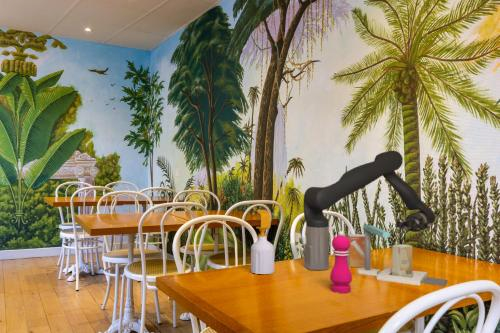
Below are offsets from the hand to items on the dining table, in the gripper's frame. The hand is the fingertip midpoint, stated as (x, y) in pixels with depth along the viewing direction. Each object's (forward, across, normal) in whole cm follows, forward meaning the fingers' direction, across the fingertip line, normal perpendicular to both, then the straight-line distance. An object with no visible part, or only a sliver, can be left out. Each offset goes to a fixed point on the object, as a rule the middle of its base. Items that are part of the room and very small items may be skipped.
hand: (407, 226), depth 168 cm
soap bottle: (+30, -49, +18) cm, 60 cm away
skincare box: (+10, 0, +18) cm, 21 cm away
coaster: (+10, +12, +18) cm, 24 cm away
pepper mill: (+38, -14, +18) cm, 45 cm away
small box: (0, -20, +18) cm, 27 cm away
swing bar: (+17, -8, +1) cm, 19 cm away
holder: (+10, -4, +18) cm, 21 cm away
